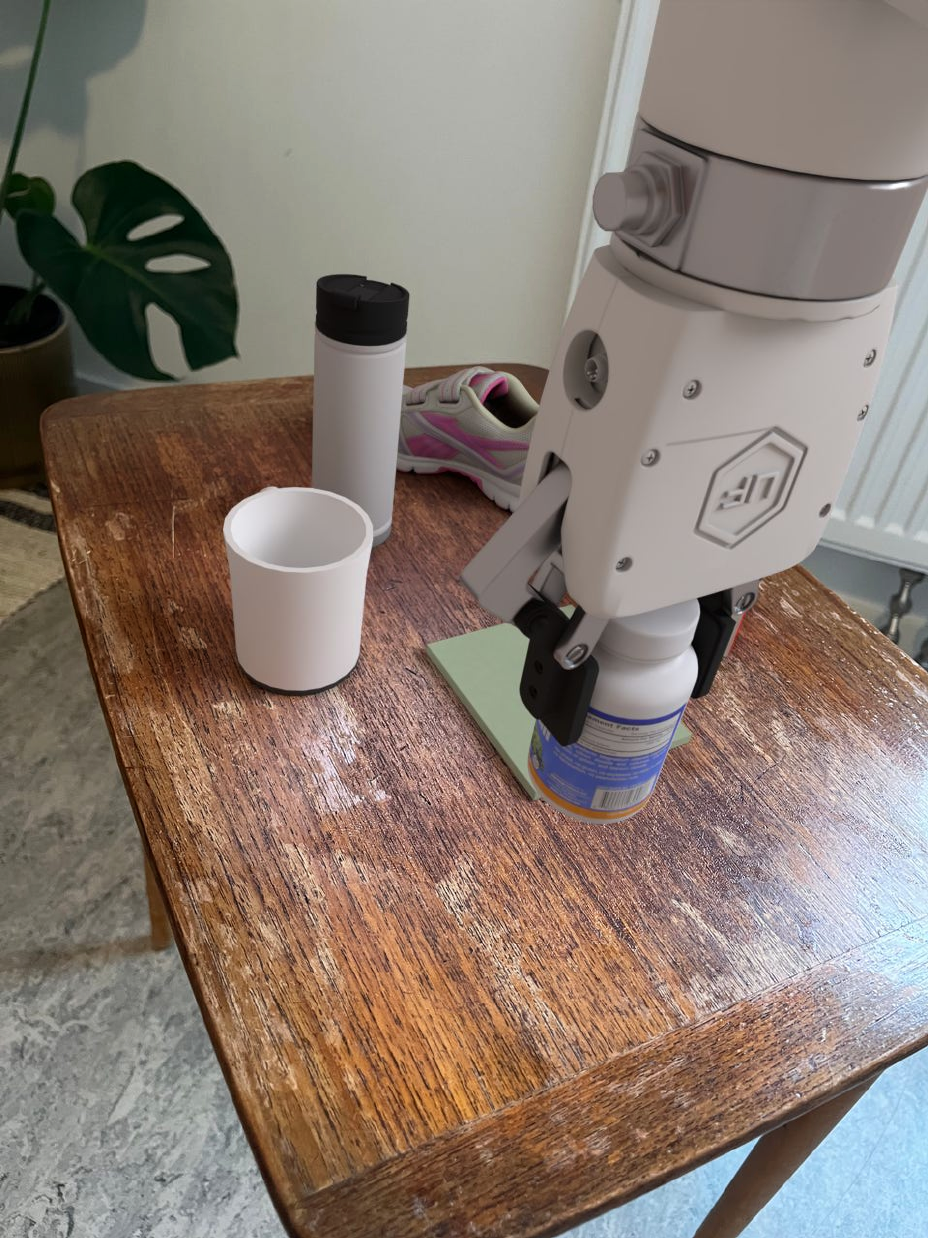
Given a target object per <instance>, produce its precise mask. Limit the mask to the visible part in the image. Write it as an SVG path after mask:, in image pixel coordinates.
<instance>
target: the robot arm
mask: <svg viewBox="0 0 928 1238" xmlns="http://www.w3.org/2000/svg"><path fill="white" fill-rule="evenodd" d="M644 72H645V73H644V78H643V82H642V88H641V93H640V97H639V102H638V110H637V113H636V115H635V118H634V119H635V120H634V123H633V127H632V128H633V129H632V133H631V138H630V142H629V148H628V154H627V157H626V162H625V166H624V170H622V171H616V172H615V171H614V172H613V171H612V172H605V173H604V174H602V175H601V176H600V177H599V179H598V181H597V182H596V183H595V186H594V190H593V194H592V212H593V217H594V220H595V222H596V224H597V226H598V227H599V229H601V230H603V231H604V232H611V233H610V238H609V244H606V245H602V246H599V247H597V248H594V250H593V253H592V255H591V257H590V259H589V262H588V264H587V267H586V269H585V271H584V274H583V275H582V279H581V281H580V283H579V285H578V288H577V290H576V293H575V296H574V299H573V301H572V304H571V306H570V309H569V312H568V314H567V317H566V319H565V321H564V322H565V323H564V325H563V327H562V331H561V334H560V337H559V339H558V343H557V345H556V350H555V352H554V355H553V358H552V361H551V364H550V368H549V371H548V374H547V378H546V382H545V385H544V388H543V392H542V394H541V398H540V402H539V409H538V413H537V417H536V421H535V425H534V429H533V433H532V437H531V441H530V446H529V450H528V455H527V460H526V464H525V469H524V474H523V479H522V485H521V491H520V498H519V506H518V508H517V510H516V511H515V512H514V513H512V514H510V516H509V517H508V519H507V520H506V521H505V522H504V523H503V524H502V525H501V526H500V527H499V529H498V530H496V531H495V533H494V534H493V535H492V536H491V537H490V539H489V540H488V541H487V542H486V543H485V544H484V546H482V548H481V549H480V550H479V551H478V552H477V554H475V555H474V556H473V558H472V559H471V560H470V561H469V562H468V563H467V565H466V566H465V567H464V568H463V570H461V573H460V576H459V582H460V584H461V585H462V587H463V588H464V589H465V590H466V591H467V592H468V593H469V595H470V597H472V599H474V601H475V602H476V604H478V606H479V607H480V608H481V609H482V610H484V611H486V612H487V613H489V614H490V615H492V616H494V617H496V618H497V619H499V620H501V621H502V622H503V623H508V624H509V623H510V624H511V625H513V626H515V627H517V628H518V629H519V630H520V631H521V632H522V633H523V635H524V636H526V637H527V638H528V639H530V640H529V644H528V649H527V654H526V658H525V663H524V668H523V672H522V677H521V682H520V688H519V691H520V697H521V700H522V702H523V704H524V706H525V708H526V709H527V710H528V711H529V713H530V714H531V715H532V716H533V717H534V718H535V719H537V720H540V721H541V722H542V723H543V725H544V726H545V727H546V728H547V730H548V731H549V732H550V733H551V734H552V736H553V737H554V738H555V739H556V741H557V742H558V743H559V744H560V745H561V746H562V747H565V746H568V745H571V744H574V743H576V742H578V739H579V737H580V736H581V734H582V730H583V727H584V723H585V720H586V716H587V713H588V709H589V706H590V702H591V699H592V695H593V692H594V688H595V685H596V681H597V677H598V674H599V664H598V662H597V661H596V659H595V658H594V657H593V656H592V655H591V652H592V650H593V648H594V647H595V645H596V643H597V641H598V640H599V638H600V636H601V634H602V633H603V631H604V629H605V627H606V626H607V624H608V622H609V620H610V619H617V618H624V617H630V616H635V615H638V614H642V613H646V612H650V611H654V610H657V609H661V608H665V607H668V606H671V605H675V604H678V603H682V602H685V601H689V600H692V599H696V598H697V600H698V603H699V607H700V616H699V620H698V623H697V626H696V630H695V633H694V637H693V640H692V642H691V645H692V647H693V649H694V651H695V654H696V657H697V663H698V674H697V679H696V683H695V685H694V688H693V691H692V693H691V696H690V698H691V699H693V700H697V699H700V698H703V697H706V696H707V695H709V694H710V692H711V689H712V686H713V683H714V682H715V679H716V676H717V673H718V671H719V669H720V665H721V663H722V661H723V657H724V656H723V655H724V653H725V650H726V648H727V645H728V643H729V640H730V637H731V635H732V632H733V630H734V627H735V625H736V621H735V620H734V619H733V618H732V617H731V616H732V614H733V615H735V616H739V615H742V614H744V613H745V612H746V613H747V612H748V611H749V610H751V608H752V607H753V606H754V605H755V603H756V602H757V600H758V596H759V588H760V581H762V579H763V578H767V577H769V576H772V575H775V574H779V573H781V572H783V571H786V570H789V569H790V568H792V567H795V566H796V565H798V564H799V563H801V562H803V561H804V560H805V559H807V558H808V557H809V556H810V555H812V553H813V552H814V550H815V549H816V547H817V545H818V544H819V542H820V540H821V537H822V536H823V534H824V532H825V529H826V528H827V525H828V522H829V520H830V518H831V516H832V513H833V510H834V508H835V505H836V502H837V500H838V497H839V495H840V493H841V490H842V487H843V485H844V482H845V479H846V477H847V474H848V471H849V469H850V467H851V463H852V461H853V458H854V456H855V452H856V450H857V447H858V444H859V440H860V438H861V435H862V432H863V429H864V426H865V424H866V421H867V417H868V414H869V411H870V408H871V404H872V402H873V399H874V395H875V393H876V390H877V387H878V382H879V379H880V375H881V371H882V368H883V364H884V361H885V356H886V354H887V353H886V352H887V349H888V343H889V338H890V334H891V331H892V325H893V321H894V315H895V309H896V304H897V303H896V301H897V296H898V289H899V281H898V280H897V278H896V276H895V275H894V273H895V270H896V269H897V266H898V263H899V261H900V259H901V256H902V254H903V251H904V249H905V246H906V243H907V241H908V238H909V236H910V234H911V231H912V228H913V226H914V223H915V222H916V219H917V216H918V214H919V211H920V209H921V206H922V204H923V202H924V199H925V197H926V194H927V192H928V0H659V5H658V10H657V15H656V20H655V25H654V30H653V35H652V39H651V44H650V49H649V53H648V58H647V63H646V68H645V71H644ZM535 573H536V575H535V576H534V578H533V580H532V582H531V583H530V582H529V581H530V579H531V578H532V576H533V575H534V574H535ZM566 593H568V595H569V597H570V598H571V599H572V600H573V601H574V602H576V603H577V605H576V607H575V611H574V613H573V614H572V616H571V618H570V619H569V618H568V617H567V616H566V615H565V613H564V612H563V611H562V610H560V609H559V608H560V607H559V606H560V604H561V602H562V601H563V599H564V597H565V595H566Z"/></svg>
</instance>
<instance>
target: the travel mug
mask: <svg viewBox="0 0 928 1238" xmlns="http://www.w3.org/2000/svg"><path fill="white" fill-rule="evenodd" d="M315 284H316V285H315V286H316V287H315V289H316V290H315V293H316V294H315V310H316V313H315V321H314V332H315V333H314V344H313V345H314V346H313V347H314V348H313V349H314V350H313V351H314V352H313V353H314V354H313V400H312V401H313V404H312V410H313V411H312V450H311V451H312V454H311V456H312V457H311V488H314V489H319V490H324V491H329V492H332V493H335V494H337V495H340V496H343V497H346V498H347V499H349V500H350V501H352V502H354V503H355V504H357V505H359V506H360V507H361V508H362V509H363V510H364V511H365V512H366V513H367V514H368V516H369V518H370V520H371V522H372V524H373V543H372V548H371V549H373V548H375V547H378V546H380V545H381V544H383V543H384V542H385V541H386V540H387V539H388V538H389V537H390V535H391V533H392V532H391V531H392V524H393V523H392V522H393V510H394V500H395V486H396V474H397V469H396V463H397V451H398V439H399V427H400V415H401V403H402V391H403V385H404V377H405V376H404V375H405V365H406V353H407V343H408V342H407V338H408V317H409V307H410V297H411V294H410V292H409V290H408V289H406V288H405V287H403V286H402V285H401V284H397V283H394V282H390V283H386V282H382V281H377V280H374V279H368V276H367V275H360V274H352V273H351V274H350V273H336V274H328V275H324V276H320V277H319V278H318V279H317V281H316V283H315Z"/></svg>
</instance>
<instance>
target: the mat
mask: <svg viewBox="0 0 928 1238" xmlns="http://www.w3.org/2000/svg"><path fill="white" fill-rule="evenodd" d="M558 608H559V609H560V610H562V611H563V612H564V613H565V615H566V616H567V617H568V618H570V617H571V616H572V614H573V613H574V611H575V609H576V607H575V606H574V605H573V604H569V605H565V606H560V607H558ZM529 640H530V639H528V638H527V637H526V636H524V635H523V633H522V632H521V631H520V630H519V629H518V628H517V627H515V626H513V625H511V624H510V623H509V624H508V623H506V622H502V623H500V624H499V623H498V624H496V625H492V626H489V627H485V628H481V629H478V630H474V631H471V632H467V633H464V634H459V635H456V636H452V637H448V638H445V639H441V640H438V641H434V642H430V643H427V644H426V651H425V654H426V655H427V656H428V658H429V659H430V660H431V662H432V663H433V665H434V666H435V667H436V669H437V670H438V671H439V673H440V674H441V676H442V677H443V678H444V680H445V681H446V682H447V684H448V685H449V687H450V688H451V689H452V691H453V692H454V694H455V695H456V696H457V697H458V699H459V700H460V702H461V703H462V704H463V706H464V707H465V708H466V710H467V711H468V713H469V714H470V716H471V717H472V718H473V719H474V721H475V723H476V724H477V725H478V726H479V728H480V729H481V731H482V732H483V733H484V735H485V736H486V738H487V739H488V740H489V741H490V743H491V744H492V746H493V747H494V748H495V750H496V751H497V753H498V754H499V755H500V757H501V758H502V760H503V761H504V762H505V764H506V765H507V766H508V768H509V770H511V772H512V774H513V775H514V776H515V777H516V779H517V780H518V781H519V783H520V784H521V786H522V787H523V788H524V790H525V791H526V793H527V794H528V795H529V796H530V798H531V800H532V801H536V800H538V799H539V800H540V799H543V798H542V797H541V796H540V795H539V794H538V792H537V791H536V789H535V787H534V786H533V784H532V782H531V779H530V776H529V773H528V765H527V760H528V753H529V747H530V742H531V738H532V734H533V730H534V726H535V722H536V719H535V718H534V717H533V716H532V715H531V714H530V713H529V711H528V710H527V709H526V708H525V706H524V704H523V702H522V700H521V697H520V691H519V688H520V682H521V677H522V672H523V668H524V663H525V658H526V654H527V649H528V644H529ZM691 739H692V732H691V731H690V730H689V728H687V727H686V725H684V724H683V722H682V721H680V723H679V726H678V728H677V731H676V733H675V736H674V738H673V741H672V743H671V746H670V748H669V751H670V750H672V749H674V748H678V747H680V746H682V745H686V744H688V743H690V740H691Z"/></svg>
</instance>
